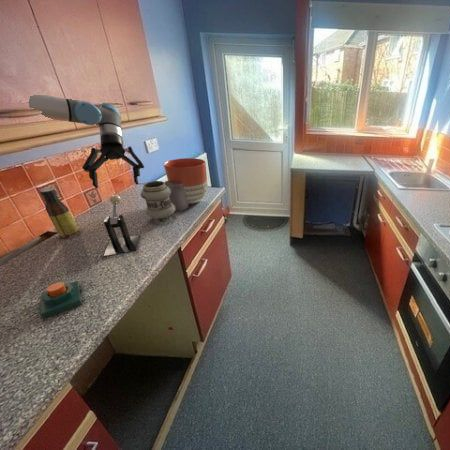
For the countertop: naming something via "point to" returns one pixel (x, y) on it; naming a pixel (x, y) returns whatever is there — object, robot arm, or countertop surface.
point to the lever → (114, 210)
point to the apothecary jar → (158, 201)
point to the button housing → (61, 300)
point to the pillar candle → (177, 195)
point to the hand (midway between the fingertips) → (116, 184)
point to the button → (56, 289)
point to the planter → (188, 177)
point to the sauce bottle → (59, 214)
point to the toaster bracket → (120, 244)
